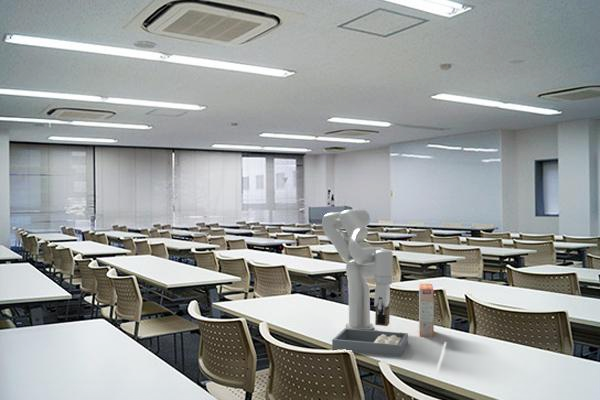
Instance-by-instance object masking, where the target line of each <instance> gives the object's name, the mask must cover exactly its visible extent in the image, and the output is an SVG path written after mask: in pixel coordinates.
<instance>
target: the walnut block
mask: <svg viewBox="0 0 600 400" xmlns="http://www.w3.org/2000/svg"><path fill="white" fill-rule="evenodd" d="M382 307H383V306H382ZM390 309H391V308H390V306H388V307H385V314H384V315H385V324H378V323H377V313H378V306H377V307H375V319H374V320H375V321H374V323H375V325H374V326H382V327H388V326H389V325H390V319H391V318H390V317H391V316H390V314H391V313H390V311H391V310H390ZM382 310H383V309H382Z"/></svg>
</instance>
